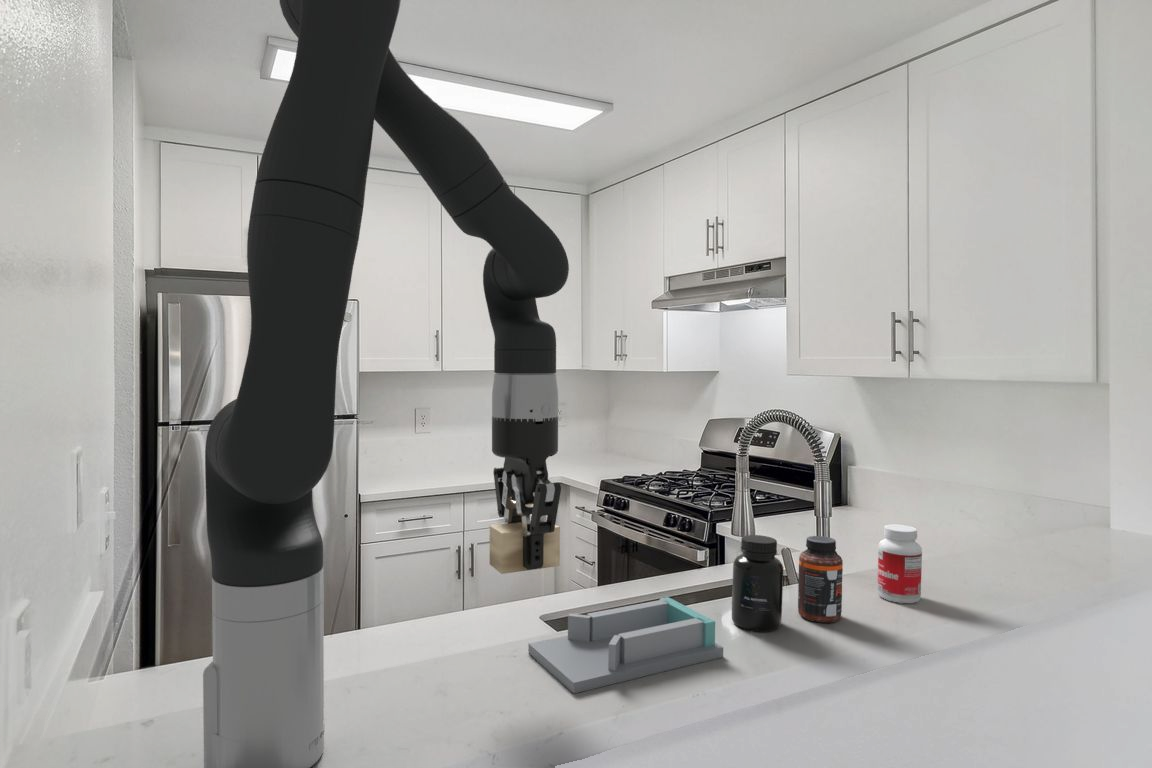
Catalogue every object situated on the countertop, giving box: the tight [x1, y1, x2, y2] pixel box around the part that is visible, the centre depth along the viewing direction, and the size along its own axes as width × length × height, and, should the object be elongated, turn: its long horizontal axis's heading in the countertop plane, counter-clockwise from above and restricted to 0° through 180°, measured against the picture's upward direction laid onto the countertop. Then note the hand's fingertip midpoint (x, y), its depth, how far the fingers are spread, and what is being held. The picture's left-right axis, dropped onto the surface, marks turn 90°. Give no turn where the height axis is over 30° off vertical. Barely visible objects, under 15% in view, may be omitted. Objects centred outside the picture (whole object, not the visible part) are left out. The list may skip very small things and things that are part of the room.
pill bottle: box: [876, 523, 923, 604], centre depth 109 cm, size 6×6×11 cm
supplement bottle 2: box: [797, 535, 844, 624], centre depth 101 cm, size 6×6×11 cm
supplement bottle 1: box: [731, 534, 784, 633], centre depth 98 cm, size 7×7×12 cm
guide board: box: [528, 596, 724, 694], centre depth 87 cm, size 21×12×4 cm, turn 118°
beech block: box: [489, 519, 561, 575], centre depth 80 cm, size 7×4×4 cm, turn 116°
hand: (524, 561), depth 80 cm, fingers closed on beech block, 4 cm apart
